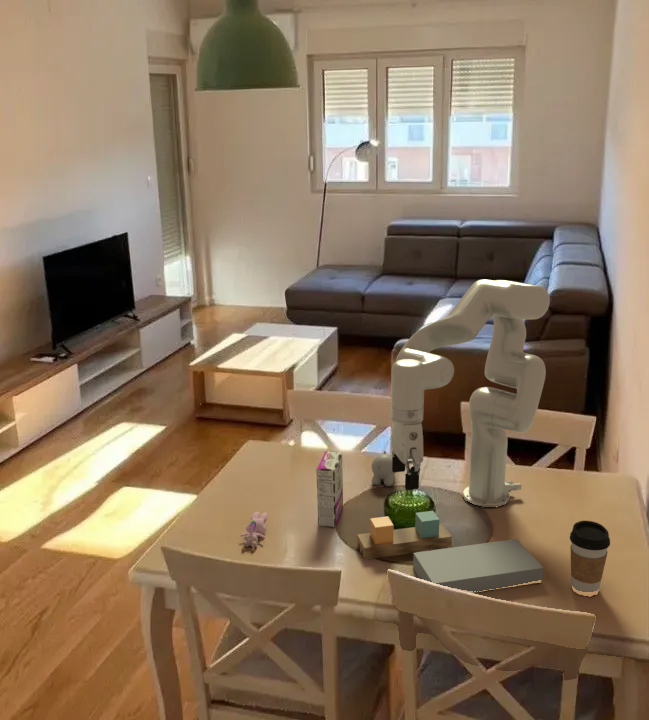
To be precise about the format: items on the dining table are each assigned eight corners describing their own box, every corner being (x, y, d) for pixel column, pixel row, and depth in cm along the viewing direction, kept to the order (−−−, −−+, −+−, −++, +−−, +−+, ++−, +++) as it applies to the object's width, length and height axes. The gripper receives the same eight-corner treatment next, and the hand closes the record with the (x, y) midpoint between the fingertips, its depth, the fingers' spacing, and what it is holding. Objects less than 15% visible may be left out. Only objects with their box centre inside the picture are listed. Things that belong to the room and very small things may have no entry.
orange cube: (387, 532, 195) (387, 516, 194) (393, 541, 191) (393, 525, 190) (370, 535, 194) (370, 518, 193) (375, 544, 190) (375, 527, 189)
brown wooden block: (441, 536, 200) (442, 523, 199) (451, 549, 194) (451, 536, 193) (357, 547, 196) (357, 534, 194) (364, 560, 190) (364, 547, 188)
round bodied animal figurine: (404, 472, 235) (404, 445, 232) (392, 489, 224) (392, 462, 222) (380, 468, 237) (380, 442, 235) (368, 485, 227) (368, 458, 224)
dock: (516, 553, 191) (517, 538, 190) (542, 583, 179) (543, 567, 178) (413, 567, 186) (413, 552, 184) (432, 599, 174) (433, 583, 172)
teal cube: (432, 526, 198) (432, 510, 196) (438, 535, 193) (439, 519, 192) (415, 529, 197) (415, 512, 195) (421, 538, 192) (421, 521, 191)
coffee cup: (596, 578, 181) (602, 519, 176) (610, 600, 173) (617, 538, 168) (560, 579, 181) (565, 520, 176) (572, 601, 173) (578, 539, 168)
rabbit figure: (261, 556, 194) (274, 518, 207) (259, 537, 191) (272, 499, 204) (236, 555, 195) (250, 516, 208) (234, 535, 192) (248, 498, 205)
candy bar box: (325, 506, 215) (324, 450, 210) (343, 507, 214) (343, 451, 209) (316, 526, 205) (315, 468, 200) (335, 528, 204) (335, 469, 199)
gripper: (435, 424, 177) (432, 494, 182) (410, 399, 193) (408, 463, 198) (403, 427, 175) (401, 498, 180) (380, 401, 192) (379, 466, 197)
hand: (405, 480), depth 189 cm, fingers open, 9 cm apart
